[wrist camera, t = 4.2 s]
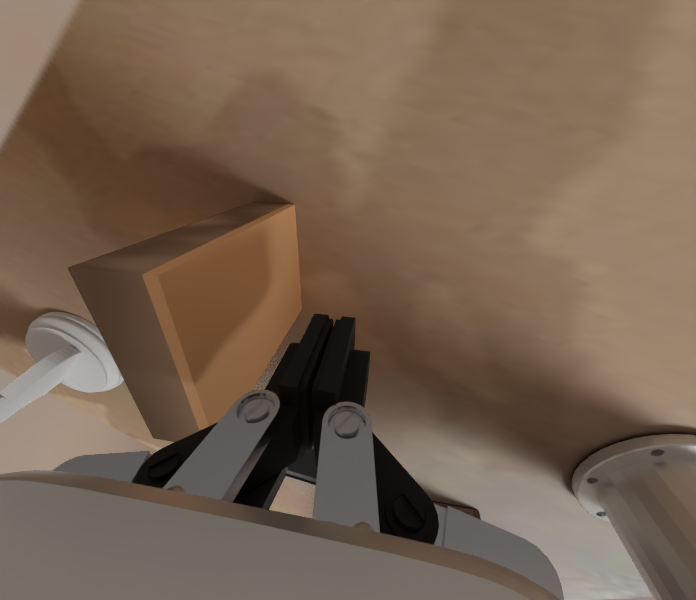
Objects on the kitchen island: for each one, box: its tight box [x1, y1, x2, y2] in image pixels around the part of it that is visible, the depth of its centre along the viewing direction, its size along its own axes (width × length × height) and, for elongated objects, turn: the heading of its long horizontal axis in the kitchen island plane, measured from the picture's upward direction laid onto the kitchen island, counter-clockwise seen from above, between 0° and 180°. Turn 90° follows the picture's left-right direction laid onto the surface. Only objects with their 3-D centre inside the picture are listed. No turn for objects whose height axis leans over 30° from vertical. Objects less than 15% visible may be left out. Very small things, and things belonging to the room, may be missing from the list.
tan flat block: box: [68, 202, 302, 442], centre depth 15 cm, size 3×8×12 cm, turn 179°
